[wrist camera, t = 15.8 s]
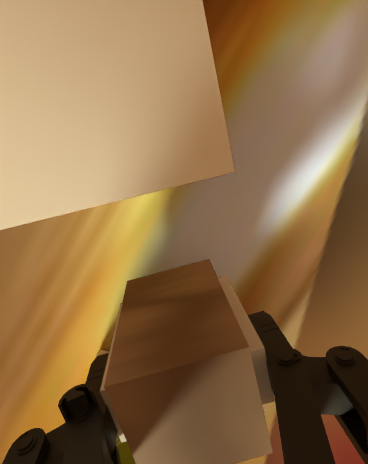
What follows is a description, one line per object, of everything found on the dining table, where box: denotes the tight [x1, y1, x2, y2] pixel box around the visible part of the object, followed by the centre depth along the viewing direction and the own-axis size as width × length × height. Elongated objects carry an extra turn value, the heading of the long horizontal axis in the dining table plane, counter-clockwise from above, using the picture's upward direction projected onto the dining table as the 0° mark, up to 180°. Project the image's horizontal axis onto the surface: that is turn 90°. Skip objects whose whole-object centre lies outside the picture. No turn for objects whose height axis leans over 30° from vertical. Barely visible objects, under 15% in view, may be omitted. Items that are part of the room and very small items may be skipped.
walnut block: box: [104, 259, 272, 464], centre depth 14 cm, size 5×5×8 cm
